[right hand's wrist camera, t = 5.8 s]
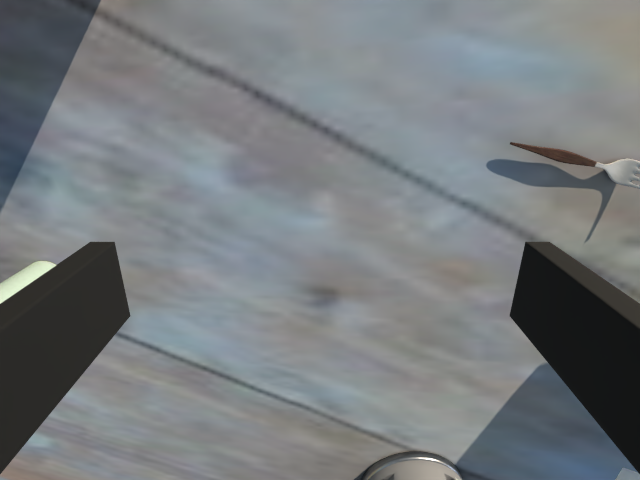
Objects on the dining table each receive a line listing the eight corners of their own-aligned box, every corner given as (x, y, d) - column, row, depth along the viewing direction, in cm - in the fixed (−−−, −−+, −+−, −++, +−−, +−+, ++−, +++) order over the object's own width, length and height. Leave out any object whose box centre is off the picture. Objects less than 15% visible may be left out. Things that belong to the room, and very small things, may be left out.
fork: (513, 128, 38) (523, 131, 36) (659, 166, 39) (676, 170, 37) (502, 155, 39) (511, 158, 37) (646, 190, 40) (661, 195, 38)
